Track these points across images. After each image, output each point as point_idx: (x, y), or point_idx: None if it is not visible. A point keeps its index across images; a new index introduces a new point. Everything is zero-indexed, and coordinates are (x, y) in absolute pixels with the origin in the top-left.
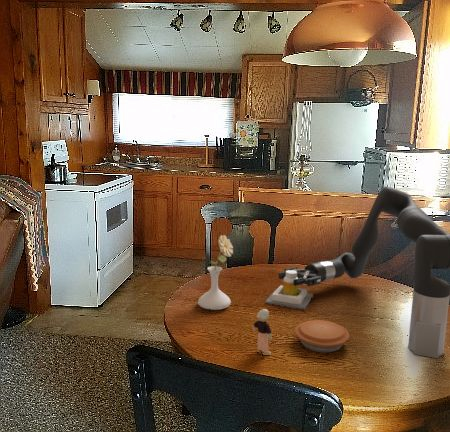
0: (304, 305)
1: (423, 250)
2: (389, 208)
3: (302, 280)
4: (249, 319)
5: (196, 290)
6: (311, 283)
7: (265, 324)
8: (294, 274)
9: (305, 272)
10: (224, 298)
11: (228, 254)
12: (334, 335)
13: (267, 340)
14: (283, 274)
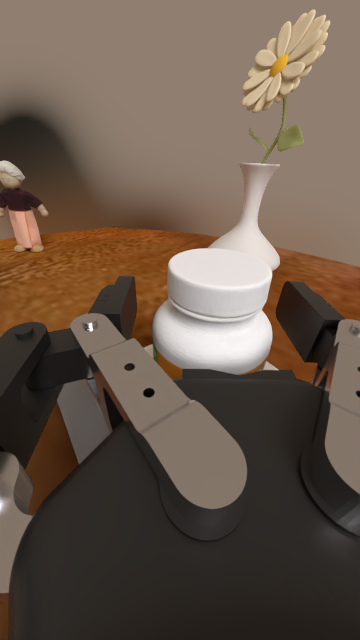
0: (66, 403)
1: None
2: None
3: (89, 313)
4: (141, 275)
5: (350, 276)
6: (30, 410)
7: (5, 189)
8: (168, 270)
9: (266, 475)
10: (221, 246)
11: (248, 99)
12: None
13: (11, 222)
14: (297, 307)
